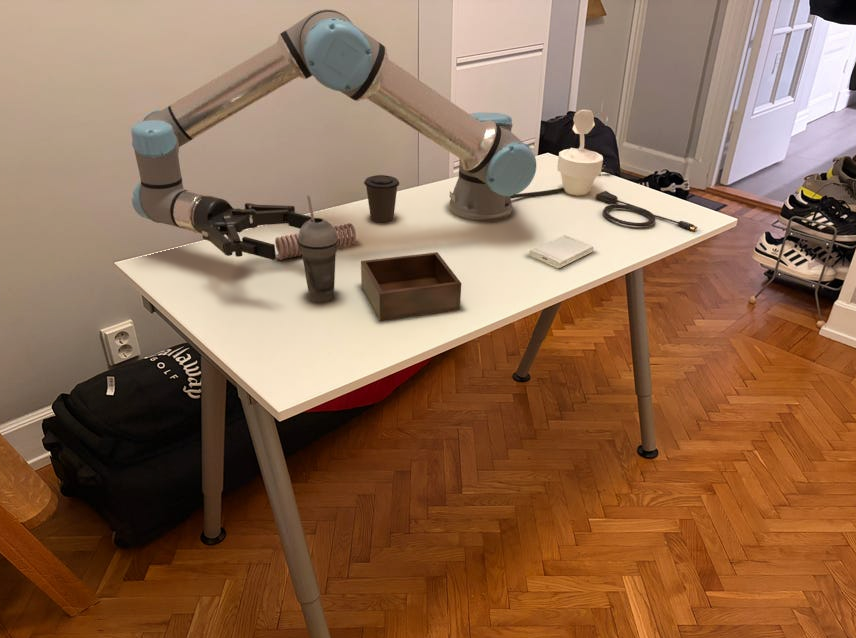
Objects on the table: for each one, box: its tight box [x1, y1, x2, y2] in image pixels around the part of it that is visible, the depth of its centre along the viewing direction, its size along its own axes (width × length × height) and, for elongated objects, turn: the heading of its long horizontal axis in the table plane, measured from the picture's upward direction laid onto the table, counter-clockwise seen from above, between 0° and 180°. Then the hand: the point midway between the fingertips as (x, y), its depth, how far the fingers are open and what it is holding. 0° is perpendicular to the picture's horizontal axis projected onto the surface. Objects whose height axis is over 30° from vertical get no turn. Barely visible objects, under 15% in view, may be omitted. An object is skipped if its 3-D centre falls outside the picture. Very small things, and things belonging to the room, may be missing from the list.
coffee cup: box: [363, 174, 400, 225], centre depth 166 cm, size 8×8×10 cm
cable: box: [595, 190, 698, 231], centre depth 178 cm, size 14×28×2 cm, turn 44°
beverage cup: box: [298, 194, 339, 303], centre depth 132 cm, size 7×7×20 cm
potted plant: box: [556, 102, 609, 197], centre depth 185 cm, size 13×12×25 cm
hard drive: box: [529, 234, 594, 269], centre depth 158 cm, size 2×8×12 cm
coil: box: [274, 222, 358, 261], centre depth 152 cm, size 5×5×18 cm
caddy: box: [360, 251, 462, 322], centre depth 137 cm, size 16×14×6 cm
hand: (296, 238), depth 133 cm, fingers open, 13 cm apart
